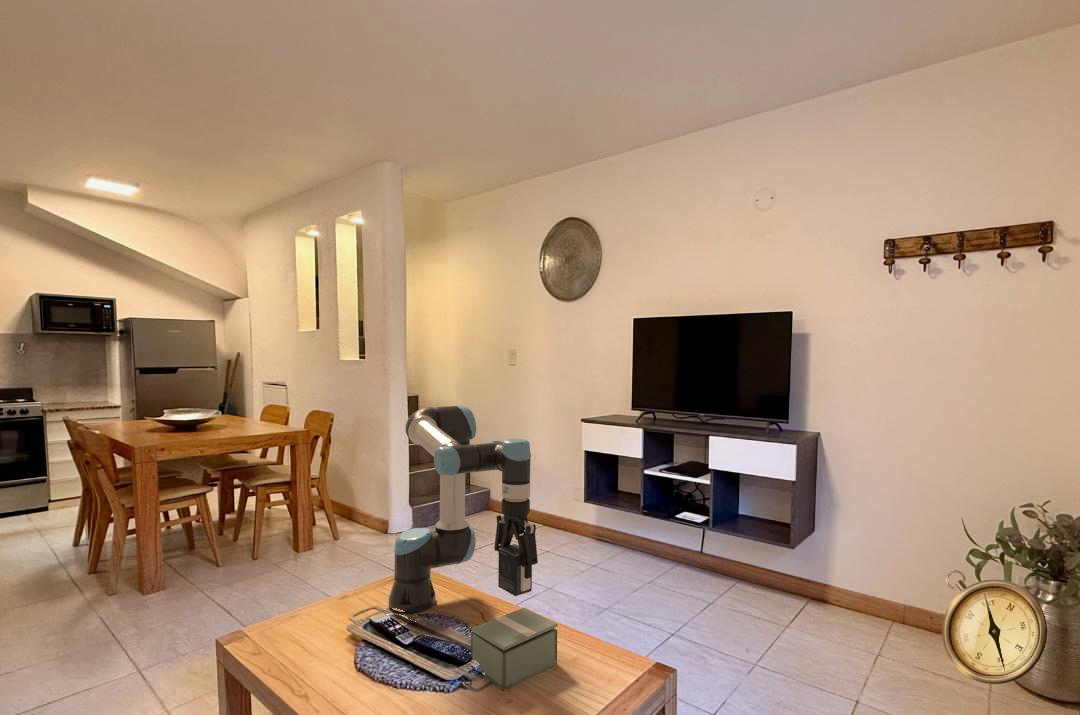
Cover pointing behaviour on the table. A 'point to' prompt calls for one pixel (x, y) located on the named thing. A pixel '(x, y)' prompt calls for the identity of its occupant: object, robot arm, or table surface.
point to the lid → (514, 628)
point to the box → (510, 570)
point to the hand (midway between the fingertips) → (515, 584)
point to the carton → (515, 658)
